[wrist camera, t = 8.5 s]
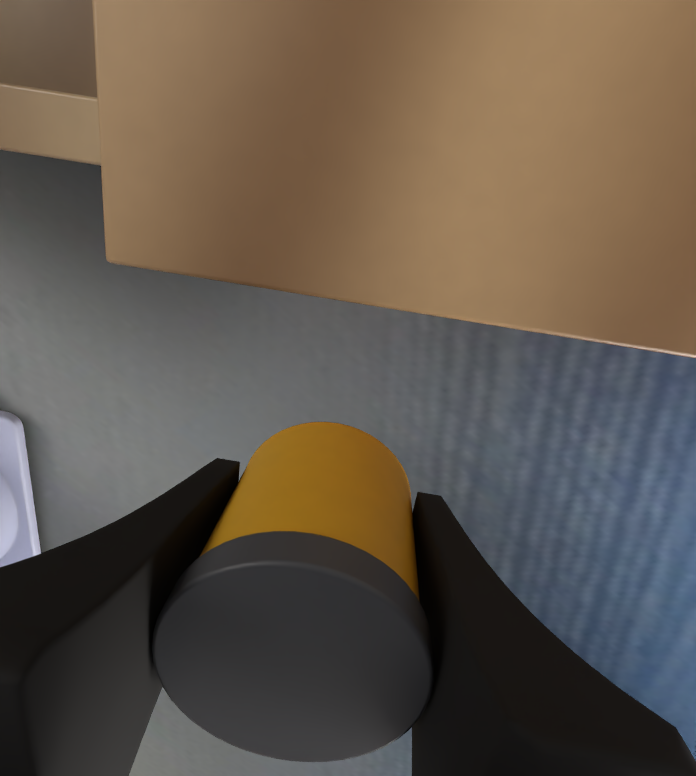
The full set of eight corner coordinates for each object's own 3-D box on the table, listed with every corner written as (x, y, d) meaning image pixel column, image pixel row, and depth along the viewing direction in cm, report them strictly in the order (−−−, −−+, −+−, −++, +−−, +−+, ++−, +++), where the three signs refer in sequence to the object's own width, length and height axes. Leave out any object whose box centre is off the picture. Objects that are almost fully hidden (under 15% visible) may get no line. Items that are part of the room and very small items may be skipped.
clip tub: (244, 400, 12) (146, 538, 7) (433, 432, 12) (466, 593, 7) (234, 550, 14) (151, 739, 9) (397, 578, 14) (404, 784, 9)
